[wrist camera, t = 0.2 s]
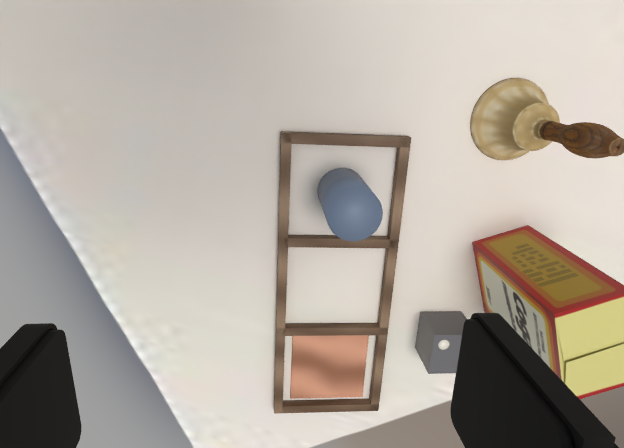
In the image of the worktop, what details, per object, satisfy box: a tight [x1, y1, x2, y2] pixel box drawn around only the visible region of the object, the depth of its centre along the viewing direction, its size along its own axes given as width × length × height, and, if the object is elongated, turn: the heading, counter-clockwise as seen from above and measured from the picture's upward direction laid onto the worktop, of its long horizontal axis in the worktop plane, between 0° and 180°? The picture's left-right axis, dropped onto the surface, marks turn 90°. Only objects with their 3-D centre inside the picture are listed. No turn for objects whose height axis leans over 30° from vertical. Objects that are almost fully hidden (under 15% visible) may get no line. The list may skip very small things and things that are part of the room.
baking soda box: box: [472, 225, 624, 399], centre depth 45 cm, size 10×6×16 cm
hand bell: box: [471, 78, 624, 160], centre depth 39 cm, size 8×8×16 cm
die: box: [415, 311, 467, 374], centre depth 52 cm, size 5×5×5 cm
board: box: [274, 132, 411, 413], centre depth 51 cm, size 34×13×1 cm, turn 177°
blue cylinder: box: [318, 168, 383, 241], centre depth 44 cm, size 5×5×8 cm
